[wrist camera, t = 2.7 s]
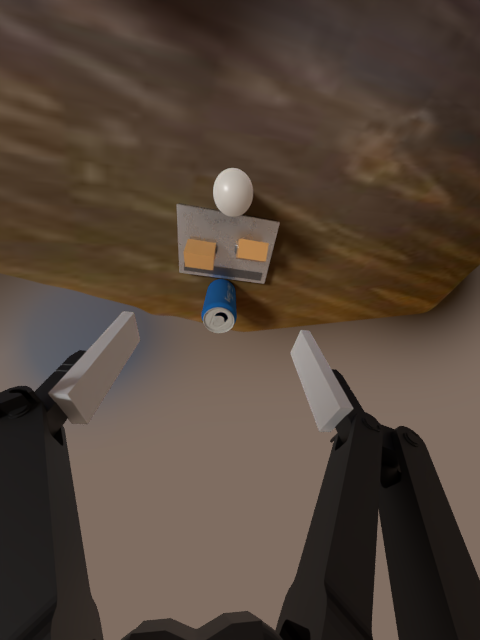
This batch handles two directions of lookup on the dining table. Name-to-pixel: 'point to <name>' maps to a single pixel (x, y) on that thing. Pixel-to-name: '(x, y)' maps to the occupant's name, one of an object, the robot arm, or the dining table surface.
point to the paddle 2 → (251, 250)
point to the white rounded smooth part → (233, 192)
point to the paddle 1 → (200, 254)
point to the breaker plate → (225, 241)
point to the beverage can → (220, 306)
